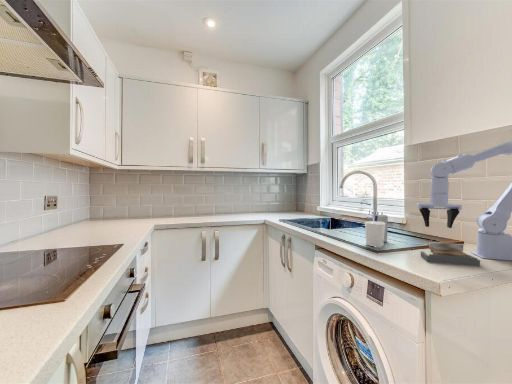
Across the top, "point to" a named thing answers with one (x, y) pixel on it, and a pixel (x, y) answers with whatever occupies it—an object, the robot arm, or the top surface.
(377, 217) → the energy drink
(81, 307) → the top surface
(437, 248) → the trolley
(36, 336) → the top surface
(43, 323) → the top surface
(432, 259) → the dock
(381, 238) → the white cup
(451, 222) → the robot arm
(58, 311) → the top surface
